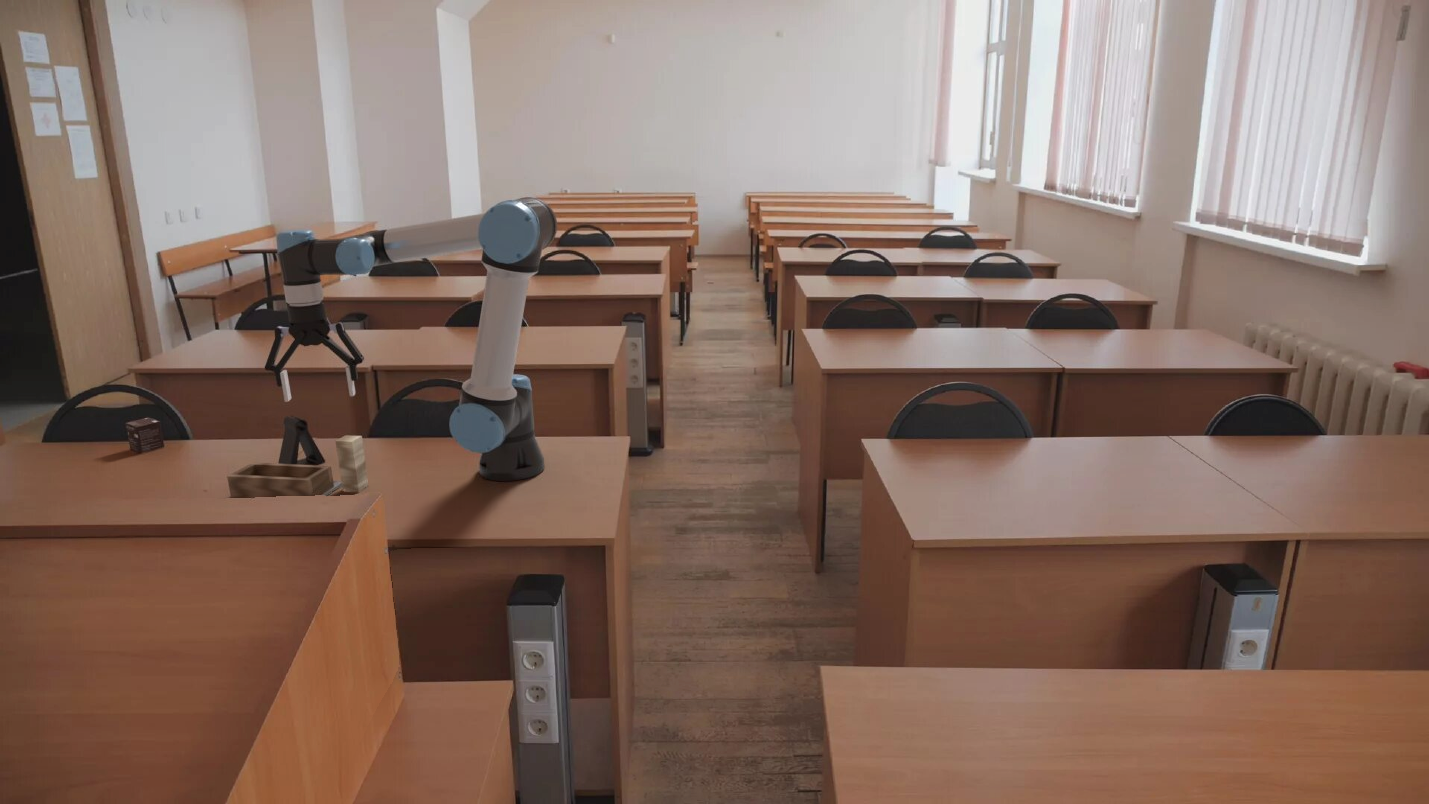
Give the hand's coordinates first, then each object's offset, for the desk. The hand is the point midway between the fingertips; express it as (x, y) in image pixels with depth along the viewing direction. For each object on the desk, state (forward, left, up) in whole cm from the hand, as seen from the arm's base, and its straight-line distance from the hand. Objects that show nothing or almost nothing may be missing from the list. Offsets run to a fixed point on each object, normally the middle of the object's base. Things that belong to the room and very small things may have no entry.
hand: (320, 397), depth 208 cm
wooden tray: (+8, +7, -21) cm, 23 cm away
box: (+64, -18, -21) cm, 70 cm away
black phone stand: (+16, -12, -21) cm, 29 cm away
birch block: (-6, +1, -21) cm, 22 cm away
